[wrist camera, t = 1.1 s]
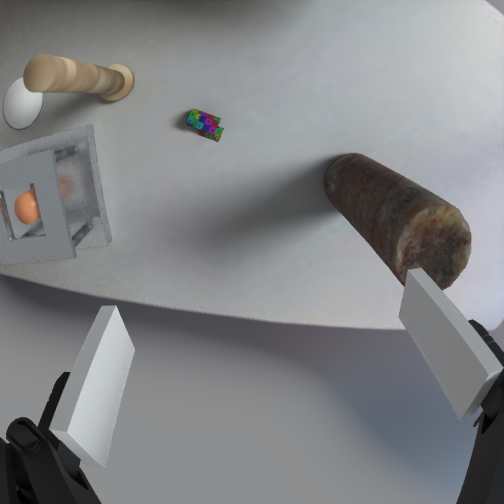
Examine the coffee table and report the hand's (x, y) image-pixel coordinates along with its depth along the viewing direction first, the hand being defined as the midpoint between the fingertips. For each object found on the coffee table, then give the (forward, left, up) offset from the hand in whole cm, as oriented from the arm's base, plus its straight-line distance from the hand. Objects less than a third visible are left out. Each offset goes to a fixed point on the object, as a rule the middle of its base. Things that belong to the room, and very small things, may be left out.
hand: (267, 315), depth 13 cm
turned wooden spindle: (-13, -14, -26) cm, 32 cm away
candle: (+1, +13, -26) cm, 29 cm away
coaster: (-14, -28, -26) cm, 40 cm away
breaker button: (-1, -25, -23) cm, 33 cm away
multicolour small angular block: (-7, -4, -26) cm, 28 cm away
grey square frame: (-1, -25, -26) cm, 36 cm away
